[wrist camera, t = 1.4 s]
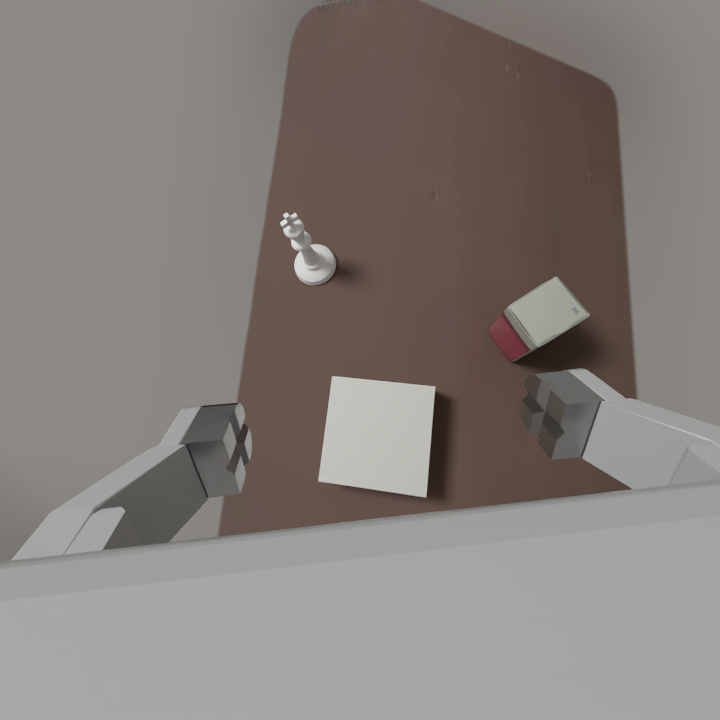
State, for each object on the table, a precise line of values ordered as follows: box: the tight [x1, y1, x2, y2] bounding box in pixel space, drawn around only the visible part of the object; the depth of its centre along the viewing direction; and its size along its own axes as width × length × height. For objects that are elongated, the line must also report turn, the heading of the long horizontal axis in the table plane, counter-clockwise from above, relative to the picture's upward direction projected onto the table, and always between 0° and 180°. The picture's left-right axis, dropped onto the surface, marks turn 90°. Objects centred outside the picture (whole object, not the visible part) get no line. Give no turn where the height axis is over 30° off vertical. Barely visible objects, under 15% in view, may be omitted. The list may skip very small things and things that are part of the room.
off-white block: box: [318, 376, 435, 497], centre depth 34 cm, size 10×10×4 cm
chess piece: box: [280, 213, 336, 285], centre depth 36 cm, size 5×5×10 cm
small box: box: [488, 277, 590, 362], centre depth 32 cm, size 5×4×8 cm
